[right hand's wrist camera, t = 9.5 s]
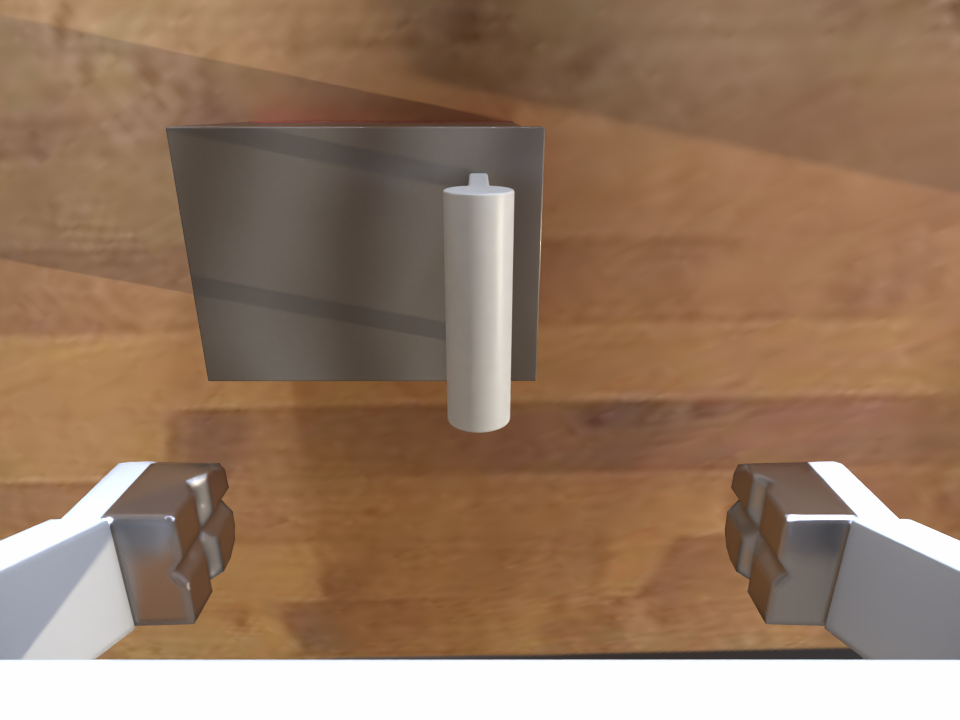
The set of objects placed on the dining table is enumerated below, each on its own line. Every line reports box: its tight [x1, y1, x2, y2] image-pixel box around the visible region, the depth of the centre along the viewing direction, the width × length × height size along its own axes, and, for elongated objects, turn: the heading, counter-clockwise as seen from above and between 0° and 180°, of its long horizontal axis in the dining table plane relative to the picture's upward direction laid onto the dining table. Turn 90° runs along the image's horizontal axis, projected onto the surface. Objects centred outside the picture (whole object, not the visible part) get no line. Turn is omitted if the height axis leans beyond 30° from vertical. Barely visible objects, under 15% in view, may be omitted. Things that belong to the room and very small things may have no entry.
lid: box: [166, 126, 545, 433], centre depth 23 cm, size 14×10×9 cm
